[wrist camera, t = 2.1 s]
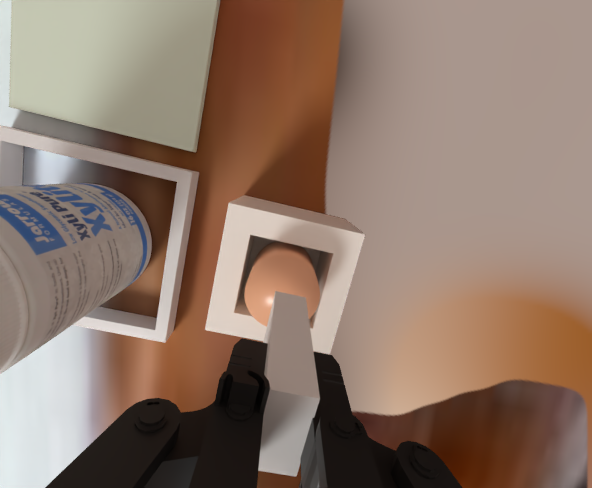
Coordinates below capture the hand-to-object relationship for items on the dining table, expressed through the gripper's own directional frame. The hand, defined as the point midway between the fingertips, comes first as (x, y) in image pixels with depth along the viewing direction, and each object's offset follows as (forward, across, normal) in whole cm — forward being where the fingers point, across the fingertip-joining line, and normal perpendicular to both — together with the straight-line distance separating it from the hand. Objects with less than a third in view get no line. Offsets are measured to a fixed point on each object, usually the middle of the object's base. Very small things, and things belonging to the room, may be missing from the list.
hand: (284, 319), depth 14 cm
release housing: (+13, 0, 0) cm, 13 cm away
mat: (+13, +16, -14) cm, 25 cm away
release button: (+9, 0, 0) cm, 9 cm away
